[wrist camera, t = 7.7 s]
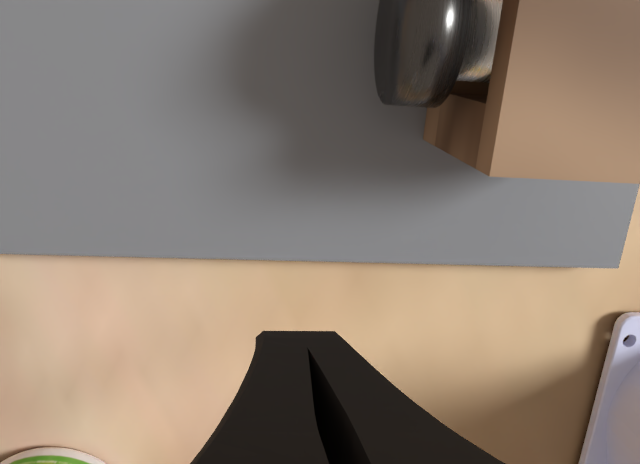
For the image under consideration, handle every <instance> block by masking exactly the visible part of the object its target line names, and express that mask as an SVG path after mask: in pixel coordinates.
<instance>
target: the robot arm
mask: <svg viewBox="0 0 640 464" xmlns="http://www.w3.org/2000/svg"><path fill="white" fill-rule="evenodd" d="M627 335H629V337H628V339H627V340H626V341H624V342H623V340H624V338H625V337H626V336H627ZM190 464H505V463H503V462H501V461H500V460H498V459H496V458H495V457H493V456H491V455H490V454H488V453H487V452H485V451H483V450H482V449H480V448H479V447H477V446H476V445H474V444H472V443H471V442H469V441H468V440H466V439H464V438H463V437H461V436H460V435H458V434H457V433H455V432H454V431H452V430H451V429H450V428H448V427H447V426H445V425H444V424H442V423H441V422H440V421H438V420H437V419H436V418H434V417H433V416H432V415H430V414H429V413H428V412H427V411H425V410H424V409H423V408H421V407H420V406H419V405H417V404H416V403H415V402H413V401H412V400H411V399H410V398H409V397H407V396H406V395H405V394H404V393H402V392H401V391H400V390H399V389H398V388H396V387H395V386H394V385H393V384H392V383H391V382H389V381H388V380H387V379H386V378H385V377H384V376H383V375H381V374H380V373H379V372H378V371H377V370H376V369H375V368H374V367H373V366H371V365H370V364H369V363H368V362H367V361H366V360H365V359H364V358H363V357H362V356H361V355H360V354H359V353H358V352H356V351H355V350H354V349H353V348H352V347H351V346H350V345H349V344H348V343H347V342H346V341H345V340H344V339H343V338H342V337H340V336H339V335H338V334H337V333H336V332H335V331H263V332H262V333H260V334H259V335H258V336H257V337H256V348H255V352H254V356H253V359H252V361H251V364H250V367H249V369H248V372H247V374H246V376H245V378H244V380H243V382H242V384H241V386H240V388H239V391H238V393H237V394H236V396H235V398H234V400H233V402H232V403H231V405H230V407H229V408H228V410H227V412H226V413H225V415H224V417H223V418H222V420H221V422H220V423H219V425H218V426H217V428H216V429H215V431H214V432H213V434H212V435H211V437H210V438H209V440H208V441H207V442H206V444H205V445H204V447H203V448H202V449H201V451H200V452H199V453H198V454H197V456H196V457H195V458H194V460H193V461H192V462H191V463H190ZM579 464H640V312H628V313H624V314H622V315H621V316H620V317H619V318H618V319H617V320H616V322H615V324H614V328H613V332H612V336H611V340H610V344H609V348H608V352H607V355H606V359H605V363H604V367H603V371H602V375H601V379H600V383H599V386H598V390H597V394H596V398H595V402H594V406H593V410H592V413H591V417H590V421H589V425H588V429H587V433H586V437H585V441H584V444H583V448H582V452H581V456H580V460H579Z"/></svg>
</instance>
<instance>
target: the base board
mask: <svg viewBox="0 0 640 464" xmlns="http://www.w3.org/2000/svg"><path fill="white" fill-rule="evenodd" d="M379 2H380V0H0V254H29V255H71V256H114V257H156V258H199V259H241V260H284V261H326V262H369V263H411V264H454V265H496V266H539V267H581V268H619V264H620V260H621V256H622V252H623V248H624V244H625V240H626V236H627V232H628V228H629V224H630V220H631V216H632V212H633V208H634V204H635V200H636V196H637V192H638V188H639V184H633V183H612V182H592V181H571V180H550V179H530V178H509V177H489V176H488V175H486V174H484V173H482V172H480V171H479V170H477V169H475V168H473V167H471V166H470V165H468V164H466V163H464V162H462V161H461V160H459V159H457V158H455V157H453V156H452V155H450V154H448V153H446V152H444V151H443V150H441V149H439V148H437V147H435V146H434V145H432V144H430V143H428V142H427V141H425V140H423V135H424V127H425V120H426V112H427V108H426V107H411V106H396V105H385V104H383V103H382V102H381V100H380V98H379V96H378V93H377V88H376V82H375V72H374V44H375V31H376V21H377V14H378V8H379Z"/></svg>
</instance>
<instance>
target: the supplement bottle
mask: <svg viewBox="0 0 640 464" xmlns="http://www.w3.org/2000/svg"><path fill="white" fill-rule="evenodd" d="M0 464H106V463H105V462H104V461H102V460H100V459H98V458H96V457H94V456H92V455H90V454H87V453H84V452H81V451H77V450H74V449H69V448H61V447H44V448H35V449H31V450H27V451H23V452H20V453H18V454H15V455H13V456H11V457H9V458H7V459H5V460H4V461H2V462H1V463H0Z"/></svg>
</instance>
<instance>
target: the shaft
mask: <svg viewBox="0 0 640 464" xmlns="http://www.w3.org/2000/svg"><path fill="white" fill-rule="evenodd" d="M502 3H503V0H380V2H379V8H378V14H377V21H376V31H375V44H374V72H375V82H376V88H377V93H378V96H379V98H380V100H381V102H382V103H383V104H385V105H396V106H411V107H426V108H436V107H438V106H440V105H441V104H442V103H443V102H444V101H445V100H446V99H447V97H448V96H449V94H450V92H451V91H452V88H453V86H454V84H455V82H456V80H457V81H470V82H484V83H490V77H491V71H492V64H493V58H494V52H495V46H496V40H497V34H498V28H499V21H500V15H501V9H502Z"/></svg>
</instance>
